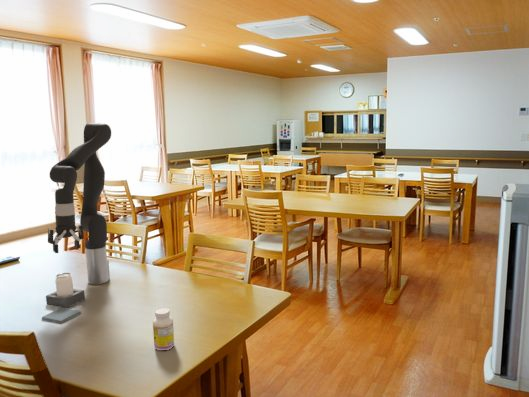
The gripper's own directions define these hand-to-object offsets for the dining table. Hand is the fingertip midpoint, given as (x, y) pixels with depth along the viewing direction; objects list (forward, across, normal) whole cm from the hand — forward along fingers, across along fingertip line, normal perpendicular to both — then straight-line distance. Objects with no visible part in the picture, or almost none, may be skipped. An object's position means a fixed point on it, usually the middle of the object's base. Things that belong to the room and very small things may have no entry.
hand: (66, 251), depth 197 cm
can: (+22, -2, -1) cm, 22 cm away
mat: (+22, -9, -15) cm, 28 cm away
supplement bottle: (+21, +3, -67) cm, 70 cm away
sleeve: (+22, -2, -1) cm, 22 cm away
